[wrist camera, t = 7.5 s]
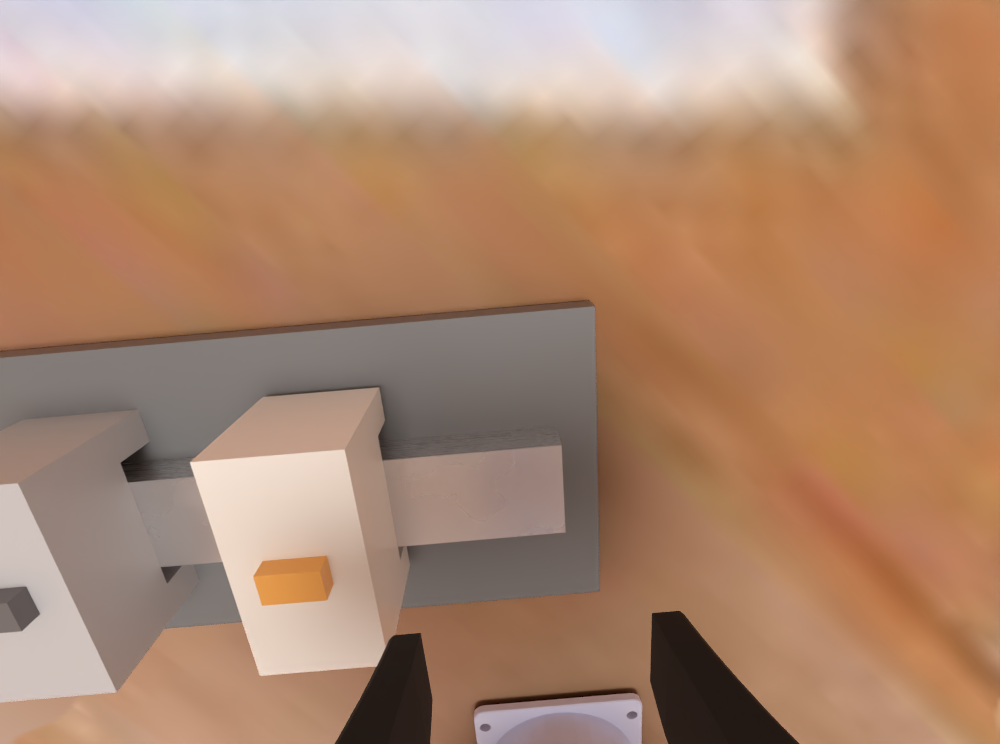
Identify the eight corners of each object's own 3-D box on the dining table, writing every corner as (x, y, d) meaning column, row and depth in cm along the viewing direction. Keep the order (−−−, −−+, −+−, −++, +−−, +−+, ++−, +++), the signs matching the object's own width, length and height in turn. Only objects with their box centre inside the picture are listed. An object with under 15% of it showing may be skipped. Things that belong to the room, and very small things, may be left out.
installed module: (199, 580, 20) (102, 711, 15) (99, 589, 20) (-31, 723, 15) (137, 409, 17) (-4, 496, 12) (23, 419, 17) (-165, 510, 12)
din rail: (559, 507, 19) (565, 532, 18) (68, 549, 19) (35, 577, 18) (555, 425, 18) (561, 445, 16) (32, 470, 18) (-7, 494, 16)
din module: (409, 565, 19) (385, 683, 15) (308, 573, 19) (251, 694, 15) (379, 387, 17) (338, 461, 12) (262, 397, 17) (175, 474, 12)
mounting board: (594, 573, 21) (599, 591, 20) (89, 617, 21) (70, 636, 20) (589, 300, 17) (594, 306, 16) (-34, 354, 17) (-64, 363, 16)
